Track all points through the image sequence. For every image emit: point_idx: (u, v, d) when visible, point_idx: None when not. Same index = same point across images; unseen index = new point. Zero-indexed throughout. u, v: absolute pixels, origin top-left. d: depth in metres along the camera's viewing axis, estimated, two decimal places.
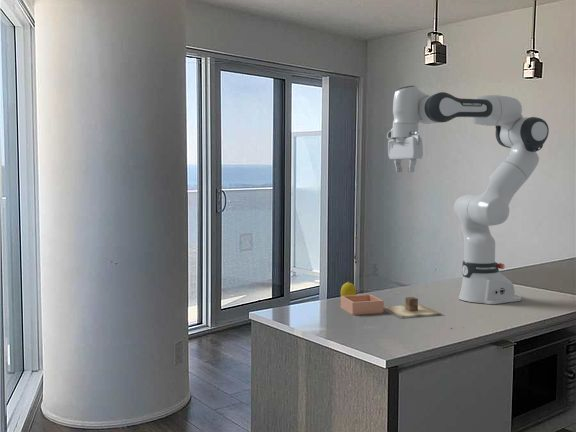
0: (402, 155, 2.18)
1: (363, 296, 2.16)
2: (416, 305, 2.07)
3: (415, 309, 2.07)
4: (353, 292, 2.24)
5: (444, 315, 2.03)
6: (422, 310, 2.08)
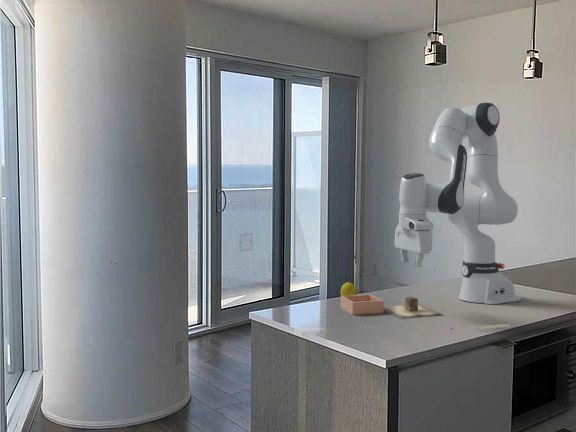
0: None
1: (363, 296, 2.16)
2: (416, 305, 2.07)
3: (415, 309, 2.07)
4: (353, 292, 2.24)
5: (444, 315, 2.03)
6: (422, 310, 2.08)
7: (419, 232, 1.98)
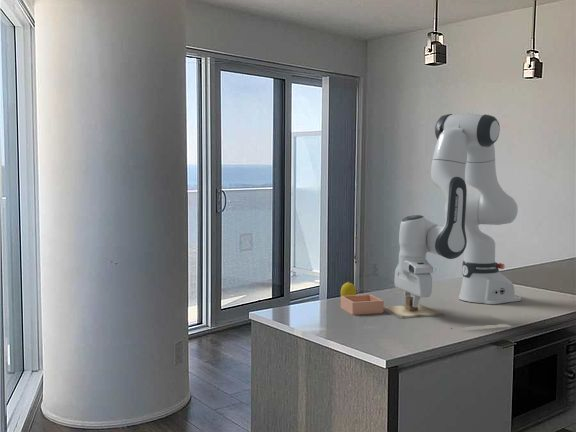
0: None
1: (363, 296, 2.16)
2: None
3: (415, 309, 2.07)
4: (353, 292, 2.24)
5: (444, 315, 2.03)
6: (422, 310, 2.08)
7: (419, 276, 1.99)
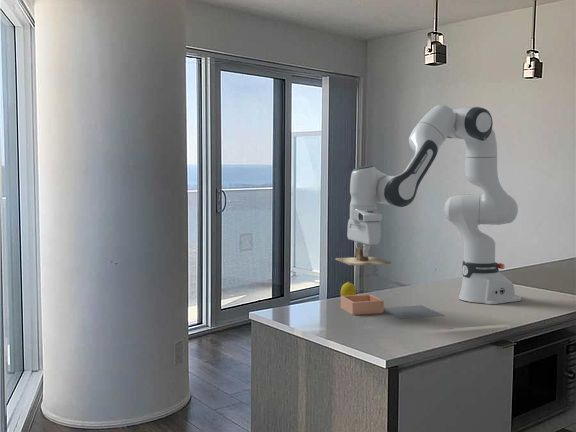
0: None
1: (363, 296, 2.16)
2: None
3: (366, 259, 2.08)
4: (353, 292, 2.24)
5: (444, 315, 2.03)
6: (373, 260, 2.09)
7: (368, 223, 2.00)
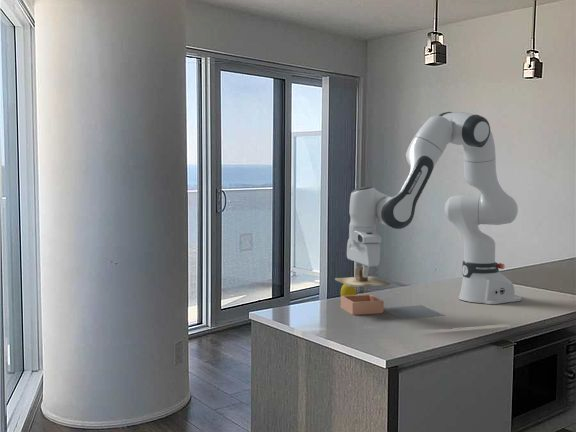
0: None
1: (363, 296, 2.16)
2: None
3: (365, 279, 2.09)
4: (353, 292, 2.24)
5: (444, 315, 2.03)
6: (372, 280, 2.10)
7: (367, 245, 2.00)
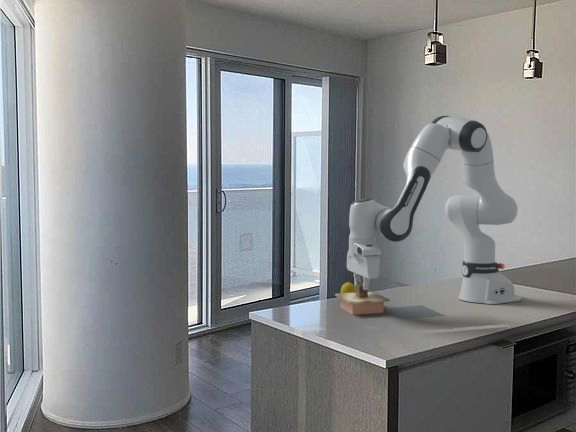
0: None
1: None
2: (366, 292, 2.10)
3: (365, 296, 2.10)
4: (353, 292, 2.24)
5: (444, 315, 2.03)
6: (372, 297, 2.10)
7: (366, 258, 2.01)
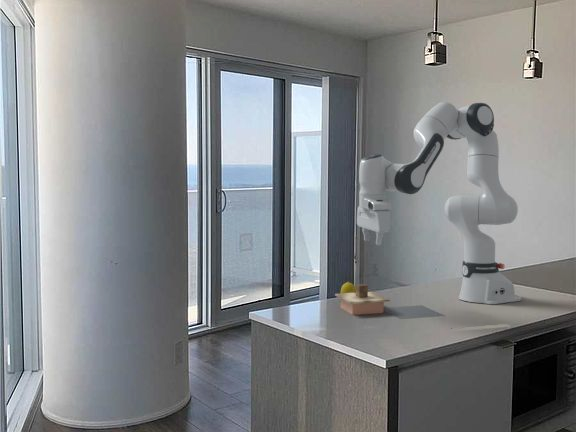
0: None
1: None
2: (366, 292, 2.10)
3: (365, 296, 2.10)
4: (353, 292, 2.24)
5: (444, 315, 2.03)
6: (372, 297, 2.10)
7: (377, 212, 2.04)
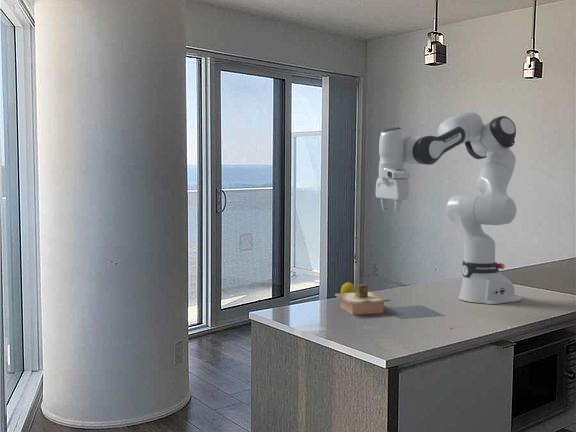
0: None
1: None
2: (366, 292, 2.10)
3: (365, 296, 2.10)
4: (353, 292, 2.24)
5: (444, 315, 2.03)
6: (372, 297, 2.10)
7: (396, 180, 2.15)
